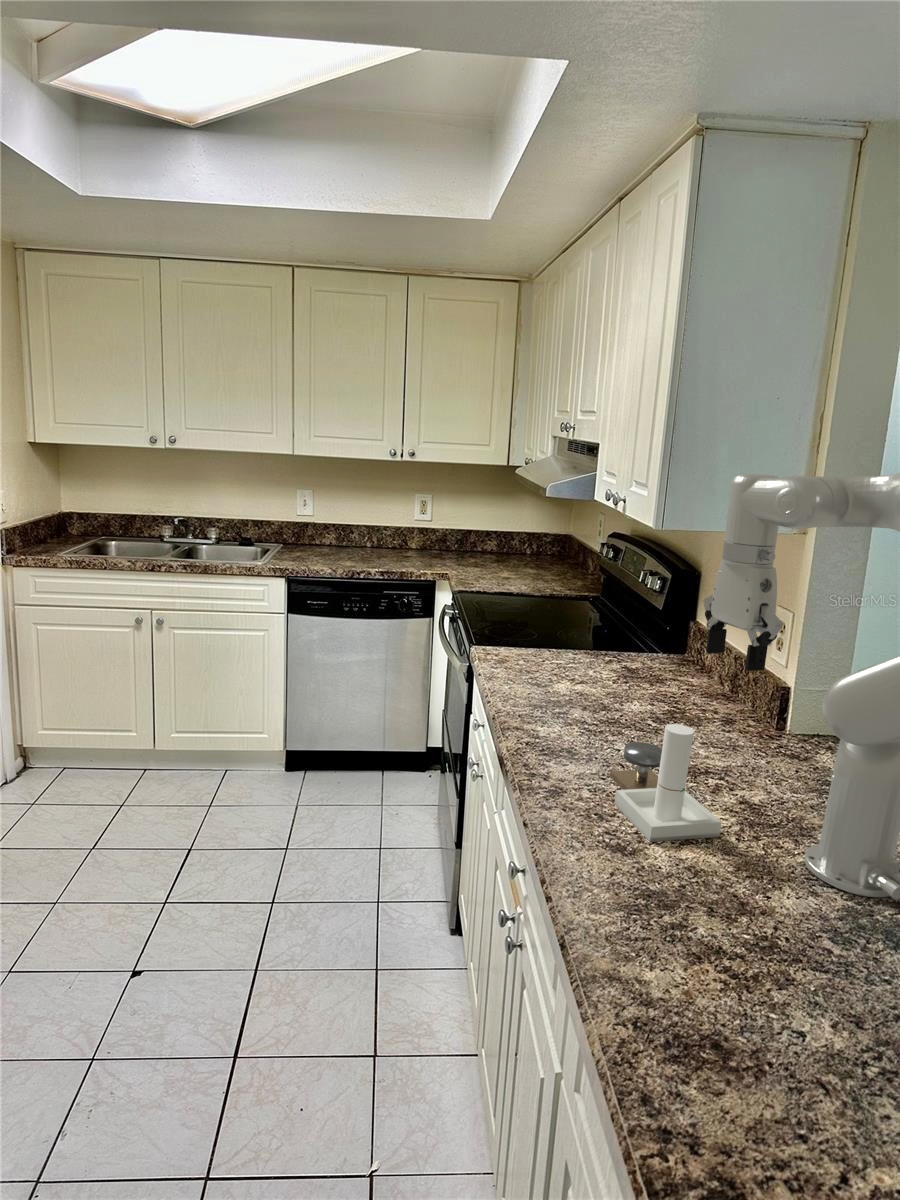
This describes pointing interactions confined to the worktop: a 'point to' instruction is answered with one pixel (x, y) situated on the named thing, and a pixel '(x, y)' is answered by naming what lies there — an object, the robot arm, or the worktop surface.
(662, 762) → the tube
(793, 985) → the worktop surface
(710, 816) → the tray
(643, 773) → the knob on plate
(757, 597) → the robot arm
